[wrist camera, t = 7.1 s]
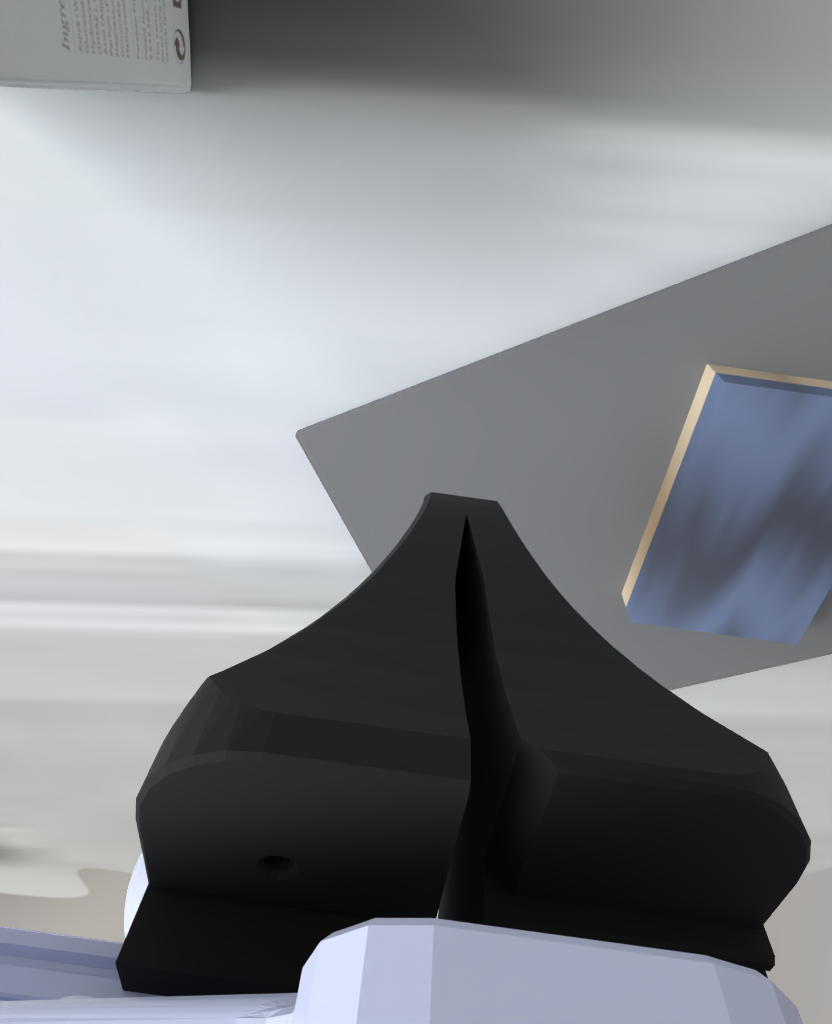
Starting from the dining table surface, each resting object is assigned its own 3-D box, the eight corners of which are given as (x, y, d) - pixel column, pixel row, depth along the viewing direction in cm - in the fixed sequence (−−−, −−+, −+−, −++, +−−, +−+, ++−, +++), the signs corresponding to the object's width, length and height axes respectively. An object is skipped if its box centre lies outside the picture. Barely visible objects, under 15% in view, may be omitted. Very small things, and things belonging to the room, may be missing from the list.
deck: (621, 593, 24) (778, 615, 24) (630, 621, 23) (797, 644, 23) (707, 363, 19) (902, 391, 19) (724, 382, 18) (935, 411, 18)
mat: (464, 728, 29) (464, 736, 29) (297, 430, 22) (295, 435, 22) (961, 616, 24) (968, 623, 24) (960, 174, 17) (971, 175, 16)
